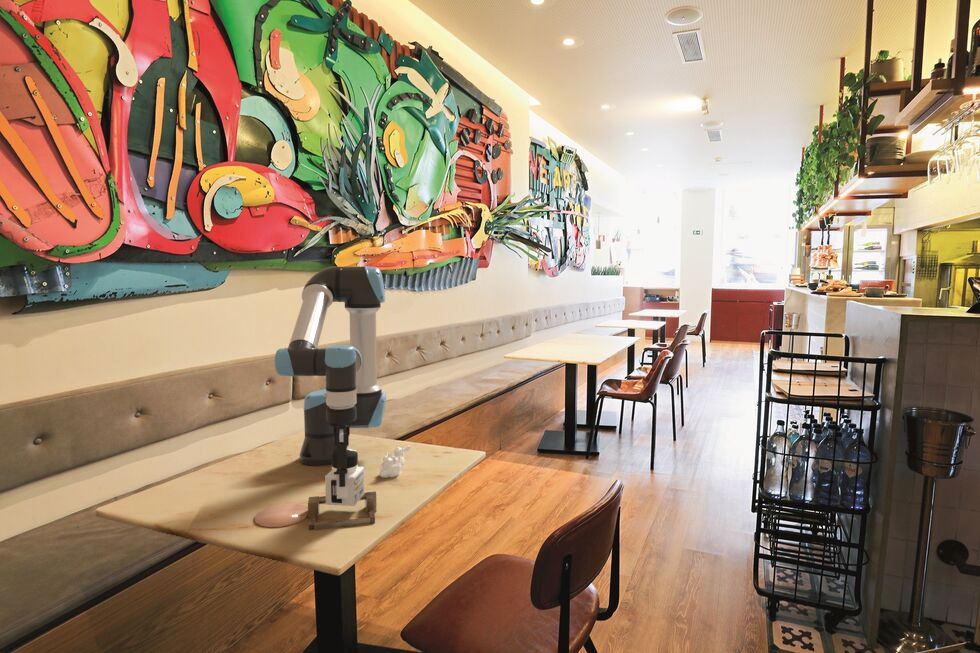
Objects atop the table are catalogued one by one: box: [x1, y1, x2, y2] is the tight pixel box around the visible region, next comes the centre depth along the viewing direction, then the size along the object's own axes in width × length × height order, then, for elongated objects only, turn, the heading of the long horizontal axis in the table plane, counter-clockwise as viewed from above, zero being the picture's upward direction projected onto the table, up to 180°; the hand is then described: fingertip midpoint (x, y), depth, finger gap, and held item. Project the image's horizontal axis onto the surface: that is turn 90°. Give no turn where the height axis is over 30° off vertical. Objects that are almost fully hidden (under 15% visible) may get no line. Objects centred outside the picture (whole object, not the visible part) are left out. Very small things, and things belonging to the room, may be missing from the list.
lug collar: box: [307, 491, 377, 531], centre depth 145 cm, size 17×17×4 cm
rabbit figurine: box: [378, 445, 411, 479], centre depth 172 cm, size 12×8×10 cm, turn 145°
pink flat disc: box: [254, 502, 308, 528], centre depth 142 cm, size 13×13×1 cm
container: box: [324, 448, 365, 507], centre depth 144 cm, size 8×8×13 cm
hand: (342, 490), depth 145 cm, fingers closed on container, 9 cm apart
